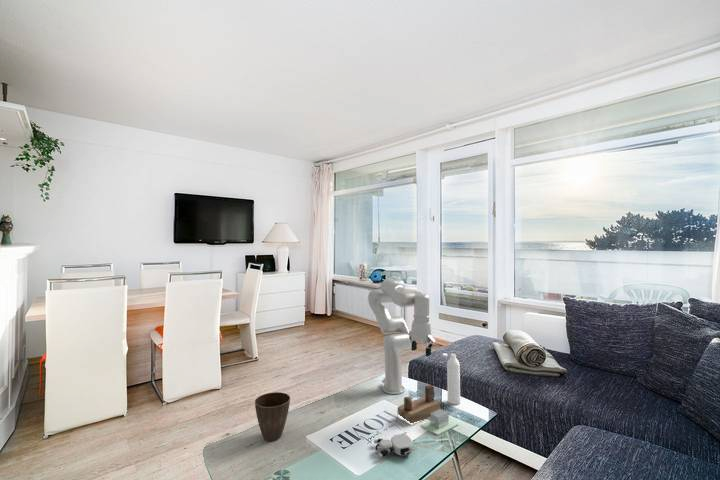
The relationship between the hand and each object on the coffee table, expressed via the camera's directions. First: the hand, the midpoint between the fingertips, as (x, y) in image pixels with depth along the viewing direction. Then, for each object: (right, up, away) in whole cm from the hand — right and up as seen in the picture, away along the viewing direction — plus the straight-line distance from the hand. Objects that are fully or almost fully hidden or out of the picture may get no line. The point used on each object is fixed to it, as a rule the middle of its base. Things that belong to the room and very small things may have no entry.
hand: (421, 352), depth 171 cm
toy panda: (-17, -28, -36) cm, 48 cm away
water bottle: (+18, -29, +8) cm, 34 cm away
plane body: (-2, -28, -6) cm, 29 cm away
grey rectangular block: (+5, -27, -16) cm, 32 cm away
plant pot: (-69, -29, -24) cm, 78 cm away
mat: (+6, -28, -16) cm, 33 cm away
